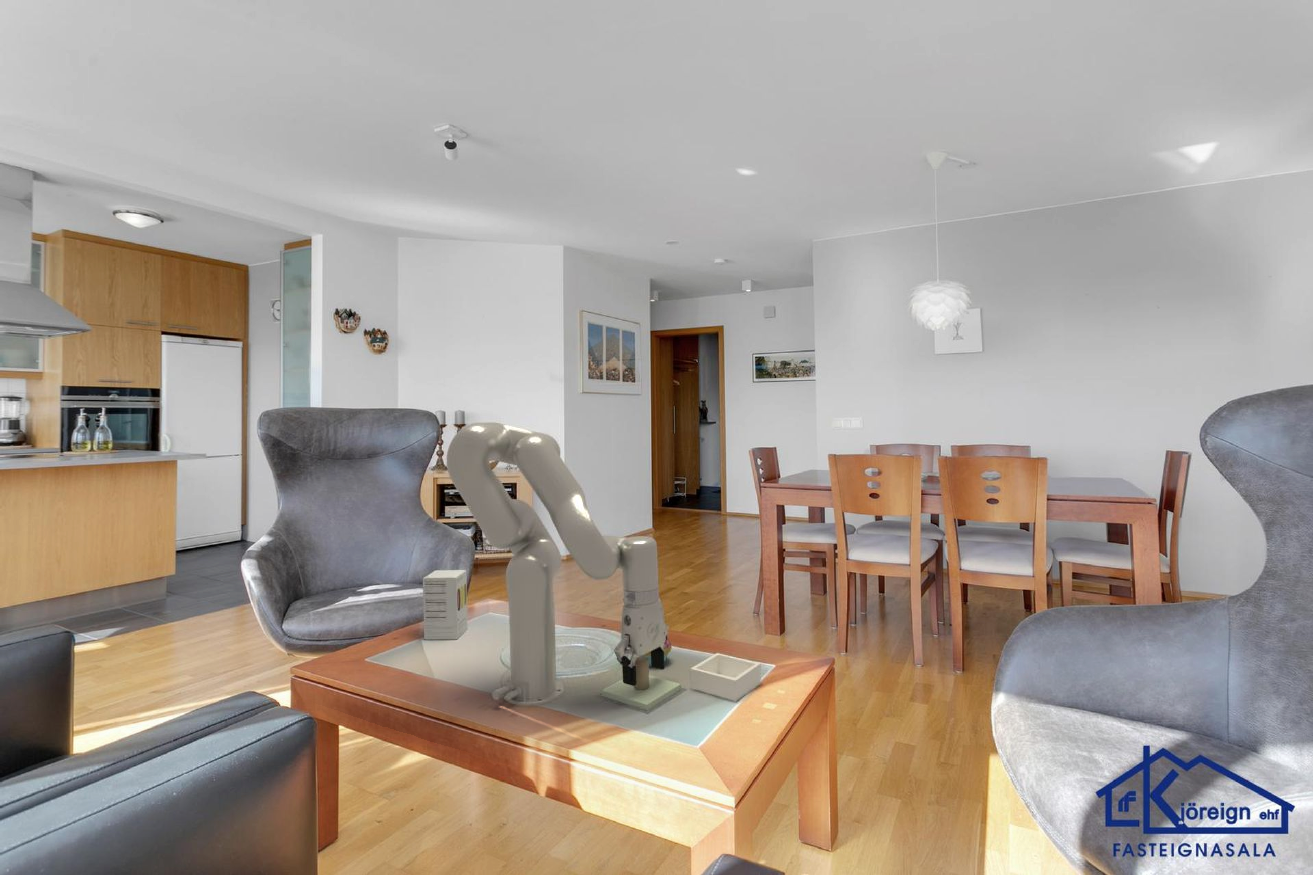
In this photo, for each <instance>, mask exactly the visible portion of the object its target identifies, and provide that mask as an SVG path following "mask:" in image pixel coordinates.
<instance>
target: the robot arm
mask: <svg viewBox="0 0 1313 875" xmlns="http://www.w3.org/2000/svg"><path fill="white" fill-rule="evenodd" d="M492 461H495V462H500V463H505V464H507V465H508V464H509V465H513V466H516V467H517V468H518V470H519V472H521V474H522V476H523V477H524V479H525V480H526V481H527V483H528V484H529V486H530V487H531V489H532V490H533V492H534V493H535V494H536V496H537V497H538V499H539V500H540V502H541V503H542V505H543V506H544V508H545V509H546V511H547V512H548V514H549V516H550V519H551V521H552V523H553V525H554V527H555V529H556V531H557V533H558V536H559V538H560V540H561V542H562V543H563V544H564V547H565V549H566V550H567V552H568V553H569V554H570V556H571V557H572V558H573V561H575V563H576V564H577V566H578V568H579V570H581V572H582V573H583V574H585V576H587V577H588V578H590V579H592V580H594V581H604V580H607V579H609V578H611V577H612V576H613V575H614V574H615V573H616V572H617V570H618V569H621V574H622V596H623V597H622V601H623V605H622V609H621V610H622V611H621V612H622V613H621V626H620V639H621V640H620V641H619V643H617V645H616V647H614V649H613V651H614V654H615V657H616V660H617V661H618V662H619V665H620V666H621V667H622V668H621V669H622V672H621V673H622V679H623V683H625V684H628V685H632V686H635V685H636V684H637V680H636V666H634V663H635V660H636V658H637V657H639V656H643V655H645V654H647V653H649V652H651V666H650V667H651V668H653V669H656V670H657V669H658V670H661V671H662V670H665V663H664V651H663V650H665V648H666V646H665V643H666V640H667V638H668V633H669V627H670V626H669V625H667V624H666V623H665V615H664V614H665V613H664V609H663V608H664V607H663V603H662V601H661V599H660V596H659V595H660V593H659V592H660V590H659V569H658V568H659V567H658V566H659V564H658V545H657V544H658V543H657V541H656V540H655V539H654V537H650V536H646V535H643V536H642V535H638V536H629V537H624V536H615V535H602V533H601V532H600V530H599V529H598V527H597V525H596V524H595V522H594V521H593V519H592V517H591V514H590V512H589V509H588V506H587V501H586V500H587V499H586V495H585V493H584V489H583V488H582V486H581V485H580V484H579V483H578V481H577V479H576V478H575V476H574V475H573V474H572V472H571V471H570V469H569V468H568V466H567V465H566V464H565V462H564V461H563V459H562V457H561V448H560V444H559V443H558V441H557V440H556V439H555V437H553V436H551V435H549V434H548V433H543V432H538V431H533V430H529V429H525V428H520V427H516V426H512V425H507V424H504V423H498V422H494V421H493V422H474V423H469V424H467V425H465V426H464V427H463V428H461V429H460V430H459V431H457V432H456V434H455V435H454V436H453V438H452V440H451V441H450V444H449V446H448V449H447V453H446V468H447V472H448V474H449V477H450V480H451V481H452V484H453V485H454V488H455V489H456V490H457V492H458V494H459V495H460V497H461V498H462V500H463V501H464V503H465V504H466V506H467V508H468V510H469V511H470V513H471V515H472V517H473V518H474V520H475V521H476V523H477V525H478V527H479V528H480V530H481V531H482V534H483V535H484V537H485V539H486V540H487V541H488V543H489V544H490V545H491V546H492V547H495V548H497V549H499V550H508V549H509V550H510V551H511V553H512V555H513V556H512V557H511V558H510V560H509V562H508V564H507V567H506V571H505V585H506V586H505V587H506V593H507V602H508V618H509V619H508V622H509V624H508V625H509V657H510V658H509V661H510V663H509V664H510V676H509V677H506V683H505V684H504V685H503V687H500V688H497V689H495V690H493V691H492V694H491V695H492V698H493V699H494V701H498V700H500V699H502V698H503V700H504V701H506V702H507V703H508V704H509V703H510V704H512V705H516V706H523V707H524V706H525V707H531V706H532V707H533V706H539V705H544V704H548V703H550V702H551V703H552V702H554V701H556V700H557V699H559V698H560V697H561V696H562V695H563V694H564V690H565V689H564V685H563V683H562V682H560V681H558V680H557V664H556V663H557V661H556V659H557V657H556V656H557V655H556V654H557V653H556V612H555V610H556V609H555V598H554V587H553V586H554V585H553V584H554V583H553V582H554V581H553V580H554V579H555V577H556V576H557V574H558V572H560V570H561V569H560V568H561V566H562V554H561V552H560V549H559V547H558V546H557V543H556V542H555V541H554V539H553V537H552V536H551V534H550V533H549V531H548V529H547V528H546V526H545V524H544V523H543V521H542V519H541V517H540V516H539V515H538V513H537V511H536V510H535V509H534V508H533V507H532V506H531V505H530V504H529V503H527V502H526V501H524V500H521V499H514V498H512V497H511V496H510V495H509V492H508V491H507V490H506V489H505V488H506V487H505V486H504V485H503V483H502V481H501V480H500V478H499V477H498V476H497V474H496V473H495V472H494V471H493V470H492V468H491V466H490V462H492ZM630 655H631V656H630ZM629 656H630V658H629Z"/></svg>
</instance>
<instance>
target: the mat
mask: <svg viewBox="0 0 1313 875" xmlns="http://www.w3.org/2000/svg"><path fill="white" fill-rule="evenodd" d="M686 691H688V688H685V687H682V686H681V690H680V691H678V692H676V693H675V694H673V695H671V696H670V697H668V698H667V699H665V700H663V701H662V702H660V703H658V704H657V705H655V706H654V707H652V708H650V709H649V710H647V711H646V710H643V709H640V708H637V707H634V706H631V705H628V704H625V703H622V702H619V701H616V700H613V699H610V698H607V697H604V696H602V695H601V692H600V693H597V694H596V695H595V696H594V698H595V697H596V698H598V699H602V700H604V701H607V702H610V703H614V704H616V705H619V706H622V707H625V708H628V709H630V710H633V711H638V712H640V713H643V714H645V715H649V714H650V713H652V712H654V711H655V710H657V709H658V708H660V707H661V706H663V705H665V704H666V703H668V702H669V701H672V699H674V698H676V697H678V696H679V695H681V694H682V693H684V692H686Z"/></svg>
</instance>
